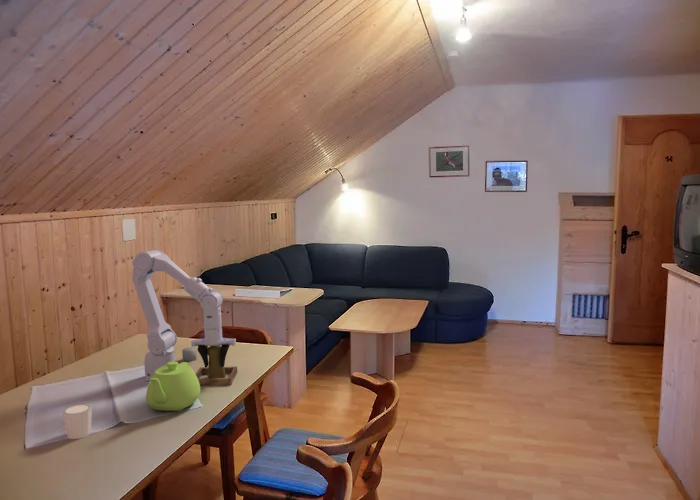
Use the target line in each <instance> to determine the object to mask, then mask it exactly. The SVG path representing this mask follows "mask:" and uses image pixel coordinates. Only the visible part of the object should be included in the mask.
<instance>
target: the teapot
mask: <svg viewBox="0 0 700 500" xmlns="http://www.w3.org/2000/svg"><path fill="white" fill-rule="evenodd" d="M148 382H149V383H148V384H147V388H146V395H145V401H146V403H147V404H148V405H149V406H150V408H151V409H153V410H156V411H166V412H169V411H175V412H182V411H183V410H184V409H185V408H187V407H189V406H191V405H192V404H194V403H195V402H196V401H197V400H198V398H199V396H200V394H201V386H200V384H199V380H198V378H197V376H196V372H195V371H194V369H193V368H192V367H191V365H190V364H189V362H184V361H182V362H180V363H179V362H178V361H176V360H175V361H172V362H168V363H167V365H164V366H162V367H160V368H158V369H157V370H156V371H155V372H154V374H153V376H152V378H151V379H150V381H148Z"/></svg>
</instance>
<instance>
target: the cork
mask: <svg viewBox="0 0 700 500" xmlns="http://www.w3.org/2000/svg"><path fill="white" fill-rule="evenodd" d="M221 346H222V345H219V346H208V349H207V354H208V366H207V367H208V374H207V379H208V378H226V376H227V373H225V369H224V367H225V366H224V367H221V352H220V347H221Z"/></svg>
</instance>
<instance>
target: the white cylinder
mask: <svg viewBox="0 0 700 500" xmlns="http://www.w3.org/2000/svg"><path fill="white" fill-rule="evenodd" d="M92 408H93V406H92V405H90V404H88V403H80V404H75V405H72V406H68V407H66V408H65V409H63V411H62V416H63V422H64V426H65V431H66V432H65V433H66V437H67V438H68V439H69V440H78V439H83V438H85V437H87V436H89V435H90V434H91V433H92V410H93V409H92Z"/></svg>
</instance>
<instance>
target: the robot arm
mask: <svg viewBox="0 0 700 500" xmlns="http://www.w3.org/2000/svg"><path fill="white" fill-rule="evenodd" d="M131 263H132V266H133V269H132V275H131V278H132V282H133V284H134V288H135V290H136V294H137V296H138V300H139V303H140V305H141V309H142V311H143V313H144V316H145V320H146V322H147V326H148V331H147V333H146V337H147V349H148V351H149V352H146V353H145V355H144V363H143V364H144V382H150V379H151V378H152V376H153V374H154V372H155V371H156V370H157V369H158V368H160V367H162V366H164V365H167V363H168V362H172V361H175V362H176V360H175V347H174V346H175V345H176V344H177V341H178V336H177V334H176V333H175V331H174V330H173V329H172V326H171V324H169V323H167V322H166V321H165V318H164V315H163V311H162V309H161V306H160V303H159V300H158V297H157V294H156V291H155V288H154V286H153V282H152V280H151V279H152V278H153V275H154V274H155V273H156V272H164V273H166V274H167V275H168V276H170V277H171V278H172V279H174V280H175V281H177V282H179V283H180V284H181V285H182V286H183V290H184V291H185V293H187V294H189V295H190V296H191V297H192V298H194V299H195V300H196V301H197V302H199V305H200V308H201V309H202V310H203V328H204V338H199V339H196V338H195V339H192V340H191V341H190V342H191V343H190V344H191V348H196V347H197V348H196V351H197V352H198V354H199V355H200V357H201V359H202V361H203V364H204V365H203V366H204V367H208V366H209V356H208V354H207V349H208V347H210V346H219V345H220V346H221V347H220V352H221V367H225V365H226V357H227V353H228V351H229V349H230V346H232V347H233V346H234V347H236V344H237V342H236V340H237V339H236V338H231V337H230V338H227V337H223V328H222V327H223V326H222V325H223V323H222V322H223V321H222V304H223V302H224V296H223V295H222V293H221V292H220V291H219V290H216V289H213V288H212V287H209V286H208V285H206V284H205V283H204V282H203V279H202V278H200V277H196V276H193V277H191V276H189V275H188V274H187V273H186V272H185V271H184V270H183V269H181V267H180V266H179V265H177V264H176V263H175V262H173V261H172V260H171V258H170V257H169V256H168V254H166V253H164V252H163V251H162V250H160V249H158V248H157V249H156V248H154V249H151V250H148V251H141V252H139V253H138V254H136V255H135V256H134V258H133V260H132V261H131Z"/></svg>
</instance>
